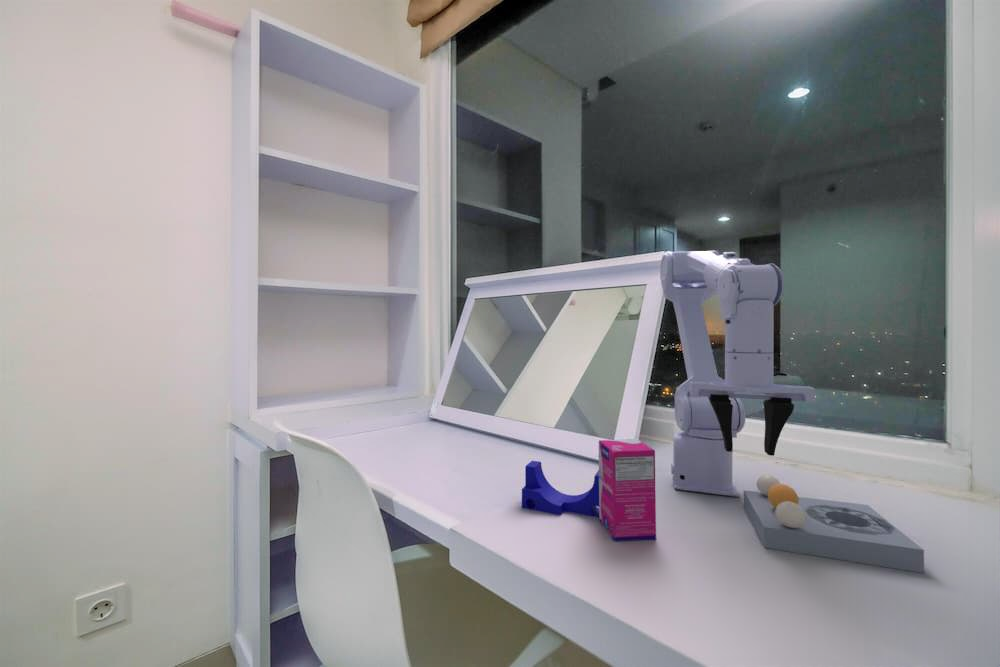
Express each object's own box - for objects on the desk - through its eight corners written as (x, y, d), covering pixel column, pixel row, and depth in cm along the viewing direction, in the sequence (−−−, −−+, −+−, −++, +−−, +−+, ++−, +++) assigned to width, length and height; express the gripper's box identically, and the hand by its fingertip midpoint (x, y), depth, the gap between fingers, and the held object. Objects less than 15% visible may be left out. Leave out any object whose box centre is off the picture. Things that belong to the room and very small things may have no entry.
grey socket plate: (764, 547, 51) (764, 526, 51) (743, 506, 63) (743, 490, 63) (924, 572, 45) (923, 549, 45) (867, 523, 57) (867, 504, 57)
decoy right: (779, 530, 50) (779, 504, 50) (772, 519, 53) (772, 496, 53) (809, 534, 49) (809, 508, 49) (801, 523, 51) (801, 499, 52)
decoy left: (759, 498, 60) (759, 477, 60) (754, 490, 62) (754, 470, 62) (783, 501, 59) (783, 479, 59) (777, 493, 61) (777, 473, 61)
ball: (771, 513, 54) (771, 487, 54) (764, 503, 58) (765, 479, 58) (802, 517, 53) (802, 491, 53) (794, 507, 56) (794, 482, 56)
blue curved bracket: (521, 509, 62) (521, 468, 62) (532, 498, 66) (532, 460, 66) (603, 524, 57) (603, 480, 57) (608, 511, 61) (608, 470, 61)
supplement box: (597, 521, 57) (597, 438, 58) (638, 520, 58) (638, 438, 58) (612, 542, 52) (612, 450, 52) (658, 540, 52) (658, 449, 52)
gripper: (692, 352, 56) (692, 453, 56) (823, 354, 51) (823, 466, 51) (689, 350, 62) (688, 441, 62) (804, 352, 57) (804, 451, 57)
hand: (748, 451), depth 57 cm, fingers open, 4 cm apart
